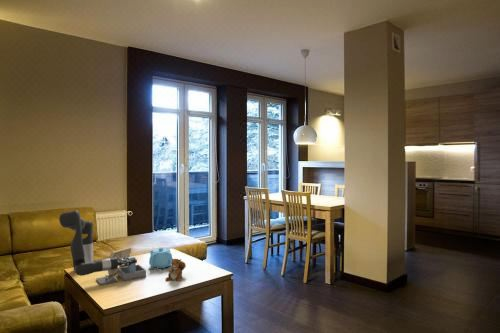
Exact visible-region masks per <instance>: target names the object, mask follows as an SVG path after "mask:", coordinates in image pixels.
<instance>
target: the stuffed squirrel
mask: <svg viewBox="0 0 500 333" xmlns="http://www.w3.org/2000/svg"><path fill="white" fill-rule="evenodd" d="M186 268H187V265H186V262H184V261H183V260H182V259H178V258H173V259H172V264H171V265H170V268H169V270H168V275H167V277H166V278H165V281H166V282H168V281H171V280H172V281H178V282H180V281H182V279H183V271H184V269H186Z"/></svg>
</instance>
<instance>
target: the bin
mask: <svg viewBox="0 0 500 333" xmlns="http://www.w3.org/2000/svg"><path fill="white" fill-rule="evenodd" d="M117 275H118V276H119V277H120V279H122V281H123V282H128V281H131V280H132V281H133V280H139V279H142V278H146V277H147V269H146V268H144V267H143V266H141V265H140V264H136V272H131V273H128V267H123V268H118V271H117Z"/></svg>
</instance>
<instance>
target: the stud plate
mask: <svg viewBox="0 0 500 333" xmlns="http://www.w3.org/2000/svg"><path fill="white" fill-rule="evenodd" d="M96 282H97V283H98V285H100V286H104V285H109V284H114V283H117V282H118V280H117V278H116V277H115V276H114V275H109V274H105V276H102V277H99V278H98V277H97V278H96Z"/></svg>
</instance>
